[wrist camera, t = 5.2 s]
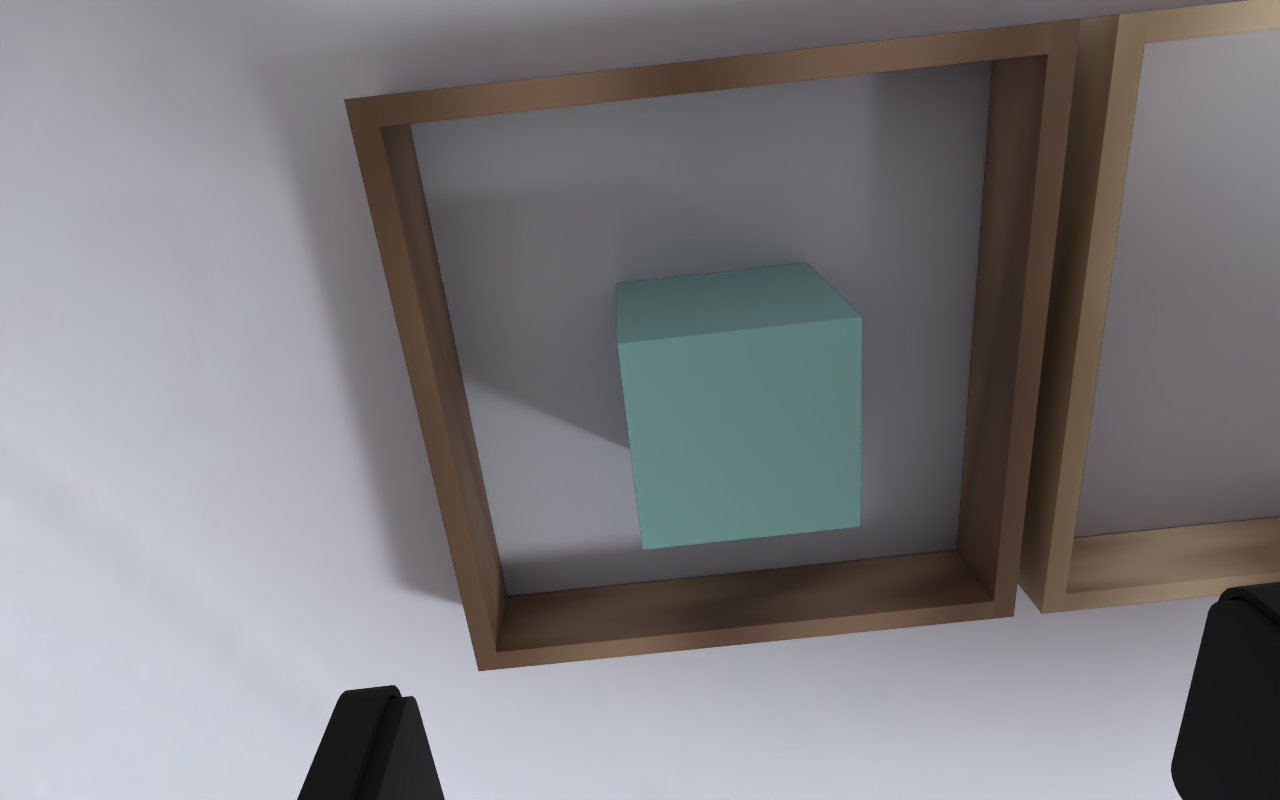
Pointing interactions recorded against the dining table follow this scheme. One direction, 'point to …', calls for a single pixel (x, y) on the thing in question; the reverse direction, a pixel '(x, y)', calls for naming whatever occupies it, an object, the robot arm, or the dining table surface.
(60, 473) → the dining table surface
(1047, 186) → the walnut tray
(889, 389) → the dining table surface
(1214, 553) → the oak tray
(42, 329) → the dining table surface
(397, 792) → the robot arm
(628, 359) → the teal cube
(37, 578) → the dining table surface
